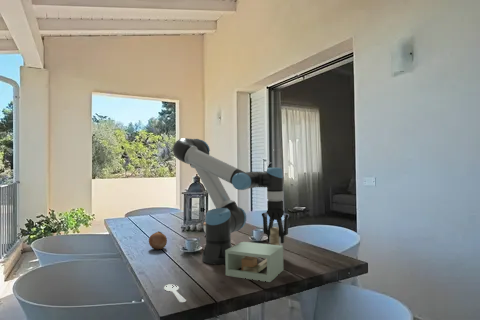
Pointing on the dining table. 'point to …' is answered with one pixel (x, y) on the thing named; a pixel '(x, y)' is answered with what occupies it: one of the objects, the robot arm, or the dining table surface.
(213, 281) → the dining table surface
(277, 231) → the tan tall part
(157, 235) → the onion
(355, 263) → the dining table surface
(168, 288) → the white fork
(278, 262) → the cubby
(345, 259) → the dining table surface
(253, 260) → the cube
